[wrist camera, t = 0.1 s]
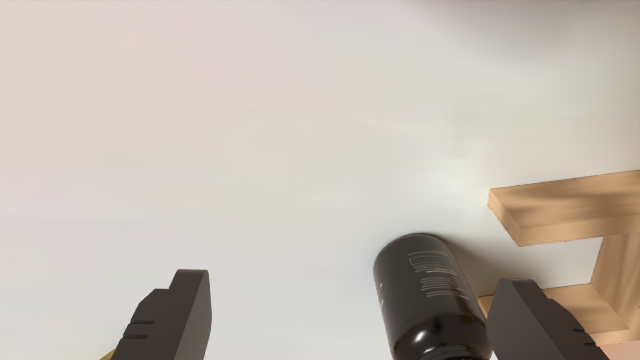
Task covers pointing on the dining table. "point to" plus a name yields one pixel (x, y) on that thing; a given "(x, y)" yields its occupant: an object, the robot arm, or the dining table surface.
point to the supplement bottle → (428, 302)
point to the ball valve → (108, 356)
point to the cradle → (580, 223)
